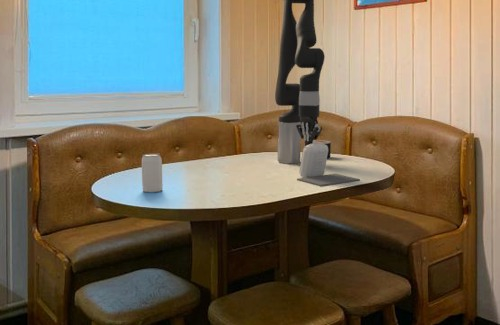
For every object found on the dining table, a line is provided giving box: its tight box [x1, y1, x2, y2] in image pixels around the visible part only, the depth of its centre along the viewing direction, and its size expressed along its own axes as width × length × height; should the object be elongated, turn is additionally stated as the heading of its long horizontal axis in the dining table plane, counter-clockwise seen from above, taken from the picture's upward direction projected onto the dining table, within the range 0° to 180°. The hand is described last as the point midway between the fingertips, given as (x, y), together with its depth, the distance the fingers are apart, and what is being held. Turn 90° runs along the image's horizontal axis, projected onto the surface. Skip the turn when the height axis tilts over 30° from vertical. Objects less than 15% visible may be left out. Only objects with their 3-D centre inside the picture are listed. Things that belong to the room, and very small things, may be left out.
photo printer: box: [299, 143, 328, 178], centre depth 202 cm, size 10×4×12 cm, turn 123°
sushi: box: [313, 139, 332, 160], centre depth 246 cm, size 8×8×8 cm
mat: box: [296, 173, 361, 187], centre depth 196 cm, size 13×18×1 cm
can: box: [141, 152, 164, 193], centre depth 179 cm, size 6×6×12 cm
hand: (308, 150), depth 204 cm, fingers closed
